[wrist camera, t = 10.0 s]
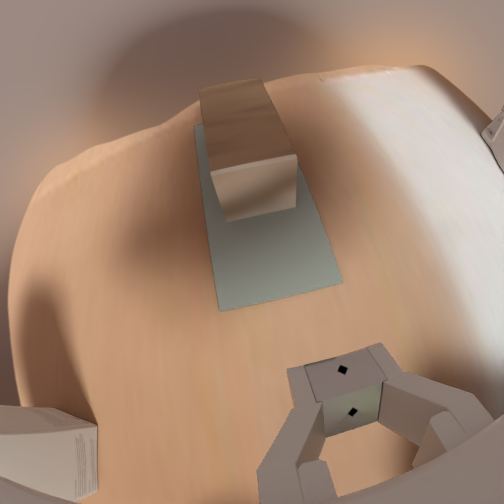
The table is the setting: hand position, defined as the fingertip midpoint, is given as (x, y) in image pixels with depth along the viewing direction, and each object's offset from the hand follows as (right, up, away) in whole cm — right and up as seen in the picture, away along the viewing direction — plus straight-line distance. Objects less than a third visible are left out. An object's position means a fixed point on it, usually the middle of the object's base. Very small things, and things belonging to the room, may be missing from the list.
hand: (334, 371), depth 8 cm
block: (-2, +9, +17) cm, 20 cm away
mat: (-2, +11, +23) cm, 25 cm away
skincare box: (-20, -16, +12) cm, 28 cm away
